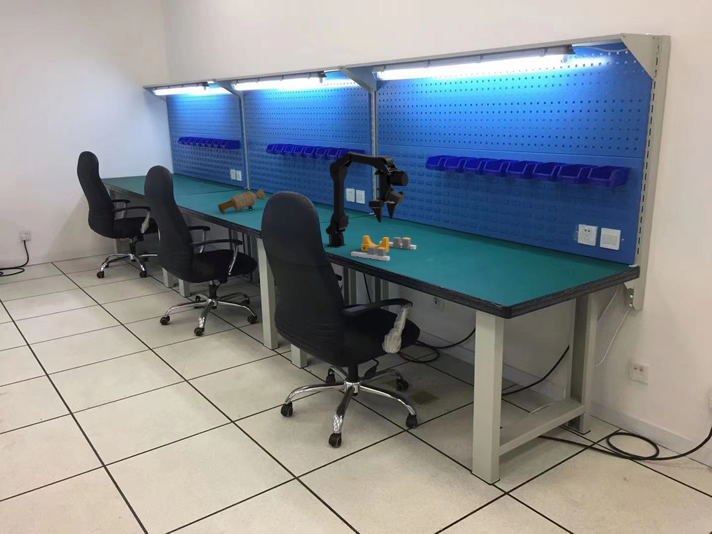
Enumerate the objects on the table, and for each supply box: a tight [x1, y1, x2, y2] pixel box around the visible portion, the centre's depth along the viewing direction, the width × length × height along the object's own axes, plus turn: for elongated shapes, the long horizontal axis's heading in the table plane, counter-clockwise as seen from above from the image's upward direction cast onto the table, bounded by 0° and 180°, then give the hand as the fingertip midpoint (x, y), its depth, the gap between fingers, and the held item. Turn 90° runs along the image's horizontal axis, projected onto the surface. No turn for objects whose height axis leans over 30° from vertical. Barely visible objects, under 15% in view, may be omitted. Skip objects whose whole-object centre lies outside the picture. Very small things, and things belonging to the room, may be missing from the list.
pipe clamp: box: [360, 235, 390, 253], centre depth 266 cm, size 12×4×6 cm, turn 60°
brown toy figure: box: [217, 188, 266, 214], centre depth 380 cm, size 10×12×30 cm
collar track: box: [350, 236, 417, 262], centre depth 263 cm, size 19×25×5 cm
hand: (385, 220), depth 259 cm, fingers open, 9 cm apart
